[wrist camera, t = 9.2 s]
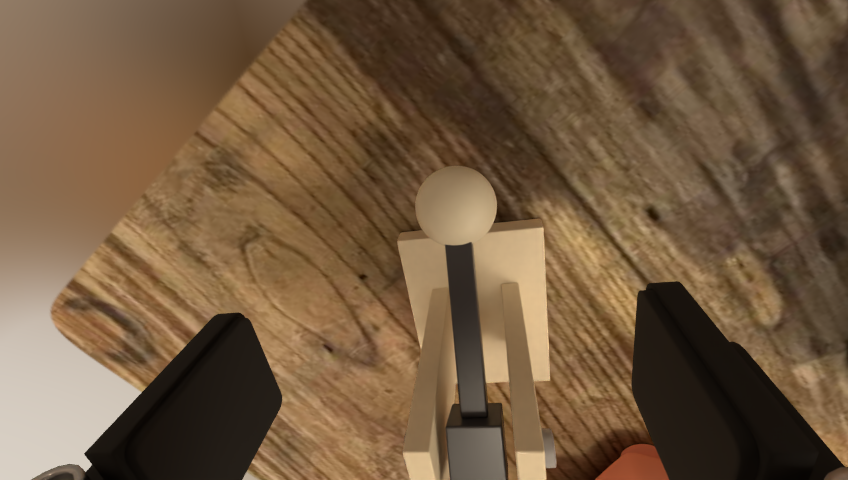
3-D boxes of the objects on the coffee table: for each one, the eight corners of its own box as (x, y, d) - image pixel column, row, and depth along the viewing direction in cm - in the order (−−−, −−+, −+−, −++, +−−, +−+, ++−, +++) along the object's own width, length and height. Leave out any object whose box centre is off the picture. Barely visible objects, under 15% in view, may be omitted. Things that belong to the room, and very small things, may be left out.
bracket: (400, 231, 24) (339, 386, 14) (540, 217, 23) (592, 378, 12) (429, 371, 29) (401, 566, 18) (547, 367, 27) (589, 575, 17)
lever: (420, 178, 19) (403, 163, 16) (493, 169, 19) (491, 152, 15) (445, 461, 19) (434, 507, 15) (521, 461, 18) (526, 509, 15)
